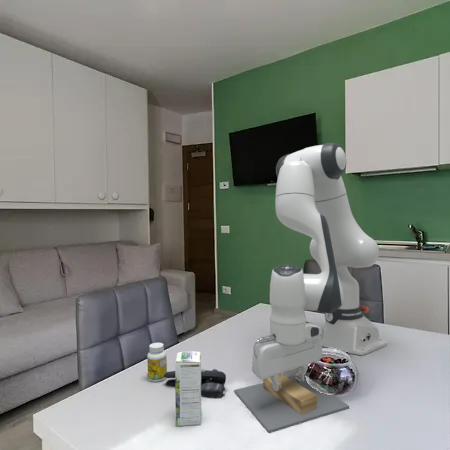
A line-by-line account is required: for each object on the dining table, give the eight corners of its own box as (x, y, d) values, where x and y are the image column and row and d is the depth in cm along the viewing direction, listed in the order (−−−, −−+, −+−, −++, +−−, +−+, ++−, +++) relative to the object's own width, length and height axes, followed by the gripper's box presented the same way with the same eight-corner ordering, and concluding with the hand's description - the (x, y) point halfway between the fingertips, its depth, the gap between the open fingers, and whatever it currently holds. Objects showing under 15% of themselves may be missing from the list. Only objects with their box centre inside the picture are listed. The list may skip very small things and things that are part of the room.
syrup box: (177, 411, 79) (175, 351, 79) (201, 410, 80) (200, 350, 79) (175, 427, 73) (174, 362, 73) (202, 425, 74) (201, 360, 73)
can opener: (230, 387, 90) (229, 366, 90) (222, 401, 84) (221, 379, 83) (171, 378, 96) (170, 359, 95) (159, 391, 89) (158, 370, 89)
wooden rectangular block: (317, 407, 79) (317, 395, 79) (301, 414, 76) (301, 401, 76) (277, 382, 91) (277, 371, 91) (263, 388, 88) (263, 377, 88)
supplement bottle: (170, 376, 96) (170, 343, 96) (157, 384, 92) (156, 350, 92) (157, 371, 99) (156, 340, 99) (143, 379, 95) (142, 346, 95)
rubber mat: (303, 374, 96) (303, 373, 96) (349, 408, 79) (349, 406, 79) (234, 391, 87) (234, 389, 87) (268, 433, 71) (268, 430, 71)
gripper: (262, 344, 75) (262, 404, 75) (326, 326, 85) (326, 379, 86) (246, 335, 80) (247, 391, 81) (308, 320, 91) (309, 370, 91)
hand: (288, 385), depth 83 cm, fingers open, 6 cm apart
